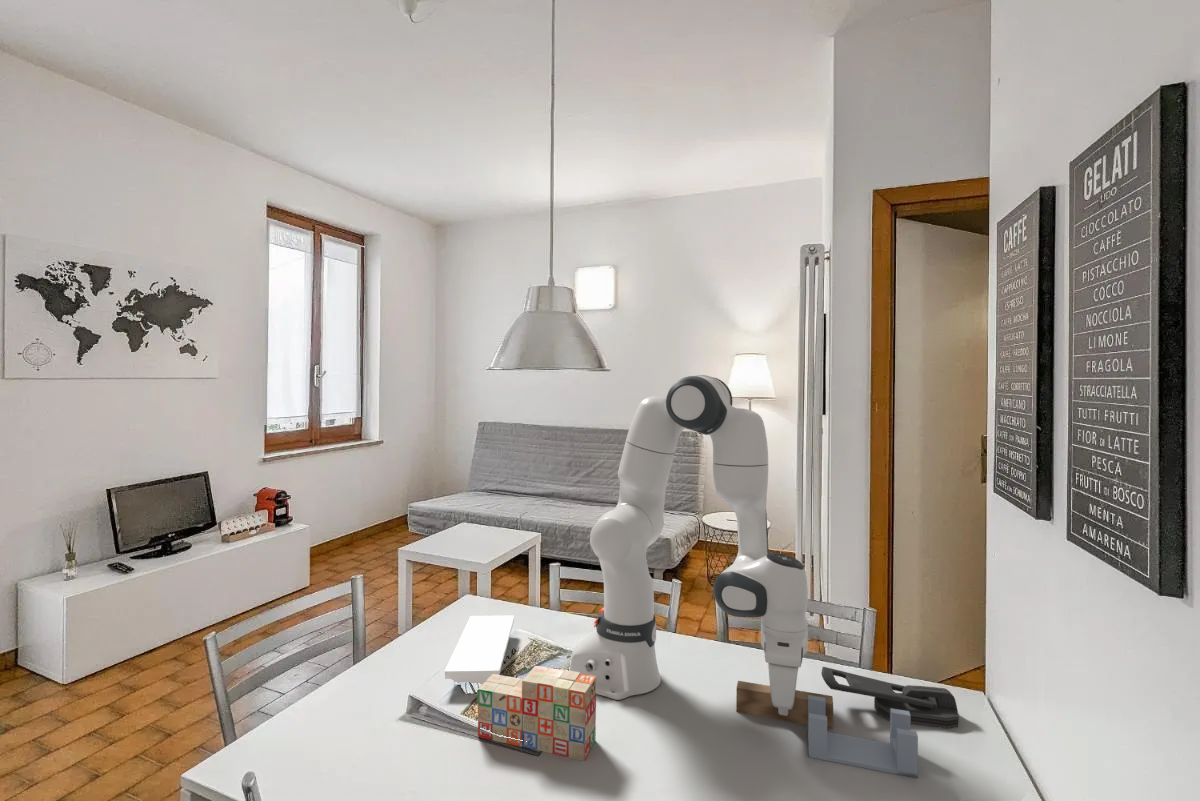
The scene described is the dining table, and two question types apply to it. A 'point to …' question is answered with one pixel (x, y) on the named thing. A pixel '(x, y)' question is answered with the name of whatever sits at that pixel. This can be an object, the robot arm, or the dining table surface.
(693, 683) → the dining table surface
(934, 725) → the zipper pull
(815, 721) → the grey cradle stand
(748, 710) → the rail
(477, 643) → the shelf
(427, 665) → the dining table surface
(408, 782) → the dining table surface
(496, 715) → the stack of blocks
